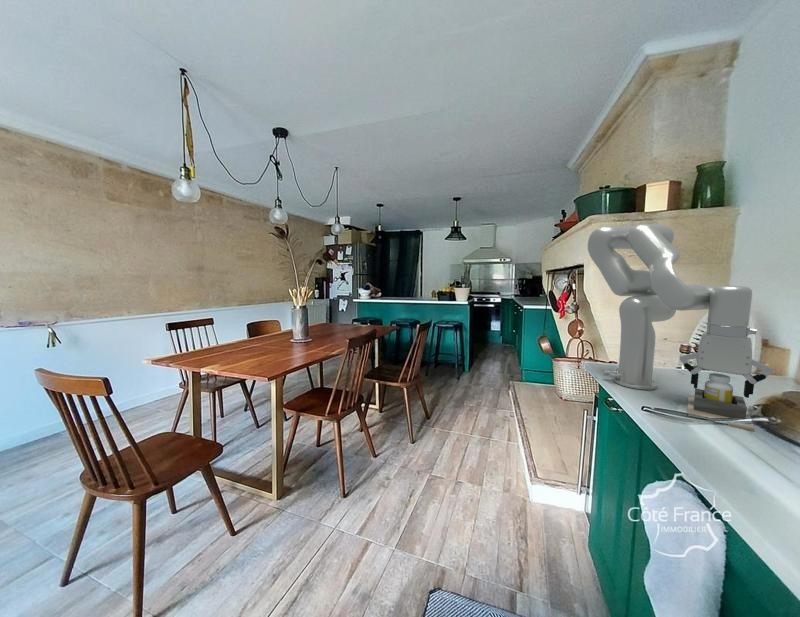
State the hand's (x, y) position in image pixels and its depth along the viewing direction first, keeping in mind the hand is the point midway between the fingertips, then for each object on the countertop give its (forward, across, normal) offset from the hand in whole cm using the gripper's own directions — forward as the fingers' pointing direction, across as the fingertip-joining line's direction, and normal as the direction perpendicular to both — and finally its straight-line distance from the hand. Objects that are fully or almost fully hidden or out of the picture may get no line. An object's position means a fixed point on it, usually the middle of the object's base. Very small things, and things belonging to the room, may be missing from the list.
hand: (719, 391), depth 82 cm
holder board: (+6, 0, 0) cm, 6 cm away
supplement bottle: (+6, 0, 0) cm, 6 cm away
